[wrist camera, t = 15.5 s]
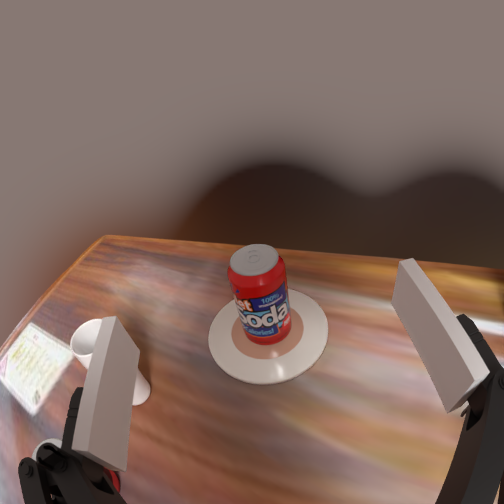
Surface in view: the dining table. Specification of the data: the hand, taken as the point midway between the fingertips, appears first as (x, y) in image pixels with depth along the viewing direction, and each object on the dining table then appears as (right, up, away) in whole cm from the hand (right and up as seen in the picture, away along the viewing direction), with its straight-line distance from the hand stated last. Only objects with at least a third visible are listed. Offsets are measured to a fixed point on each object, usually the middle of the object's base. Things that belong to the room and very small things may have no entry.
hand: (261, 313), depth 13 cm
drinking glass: (-19, -20, +29) cm, 40 cm away
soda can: (+2, -10, +35) cm, 37 cm away
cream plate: (+2, -11, +36) cm, 38 cm away
